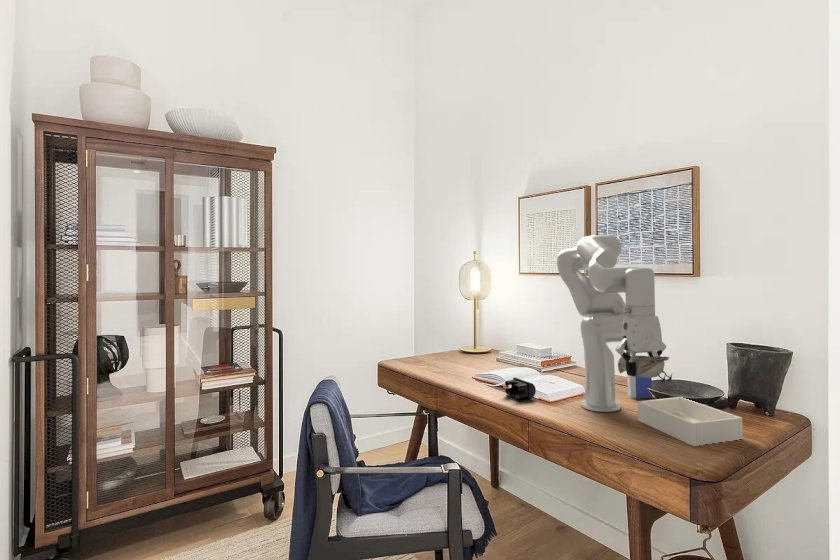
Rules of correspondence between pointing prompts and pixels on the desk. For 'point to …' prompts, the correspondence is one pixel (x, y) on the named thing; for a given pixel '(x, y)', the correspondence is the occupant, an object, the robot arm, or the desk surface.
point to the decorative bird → (646, 366)
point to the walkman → (639, 387)
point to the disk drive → (718, 402)
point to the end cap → (520, 390)
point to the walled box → (690, 421)
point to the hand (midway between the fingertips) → (641, 373)
